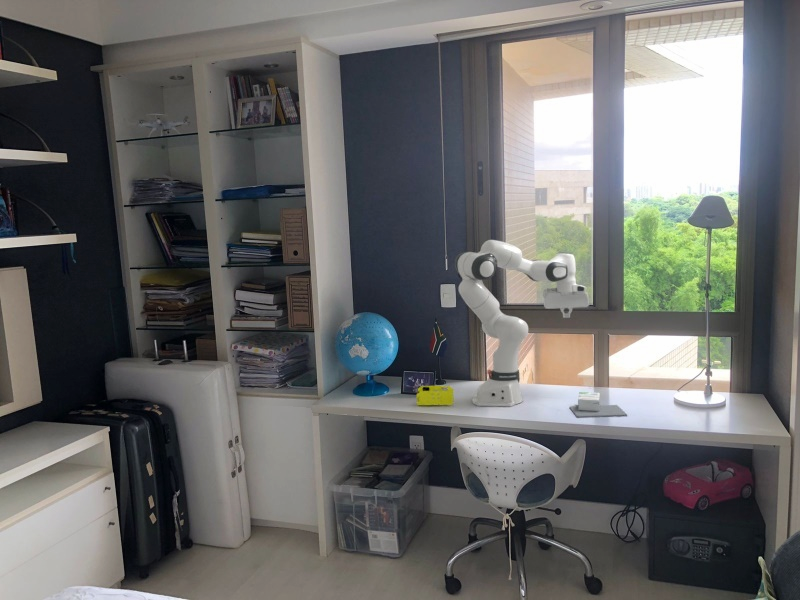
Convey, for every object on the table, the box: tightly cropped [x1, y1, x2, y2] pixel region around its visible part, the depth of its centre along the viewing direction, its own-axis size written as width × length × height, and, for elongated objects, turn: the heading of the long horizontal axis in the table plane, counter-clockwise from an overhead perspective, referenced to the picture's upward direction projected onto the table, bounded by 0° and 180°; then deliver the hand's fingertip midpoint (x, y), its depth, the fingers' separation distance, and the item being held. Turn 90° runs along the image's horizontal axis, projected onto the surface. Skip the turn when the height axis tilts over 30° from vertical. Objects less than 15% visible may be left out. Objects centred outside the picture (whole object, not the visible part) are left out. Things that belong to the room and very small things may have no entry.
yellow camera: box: [416, 385, 455, 407], centre depth 288 cm, size 16×6×8 cm, turn 82°
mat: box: [569, 404, 628, 419], centre depth 267 cm, size 20×14×1 cm
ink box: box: [577, 391, 601, 411], centre depth 272 cm, size 9×5×12 cm
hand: (566, 317), depth 296 cm, fingers closed
